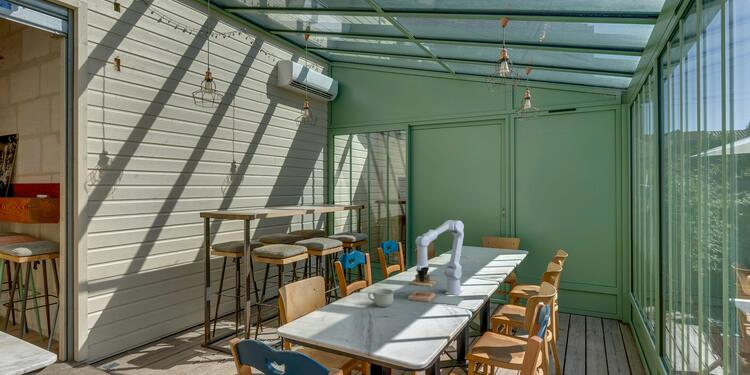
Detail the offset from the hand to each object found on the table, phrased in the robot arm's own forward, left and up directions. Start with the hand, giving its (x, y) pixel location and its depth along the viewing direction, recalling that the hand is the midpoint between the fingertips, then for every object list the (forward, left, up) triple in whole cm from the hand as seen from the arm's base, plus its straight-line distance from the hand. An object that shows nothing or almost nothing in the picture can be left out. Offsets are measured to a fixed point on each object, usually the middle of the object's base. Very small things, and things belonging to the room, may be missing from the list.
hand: (422, 280), depth 227 cm
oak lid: (0, 0, -2) cm, 2 cm away
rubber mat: (0, +15, -10) cm, 18 cm away
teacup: (+22, -17, -11) cm, 30 cm away
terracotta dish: (0, -1, -10) cm, 10 cm away
